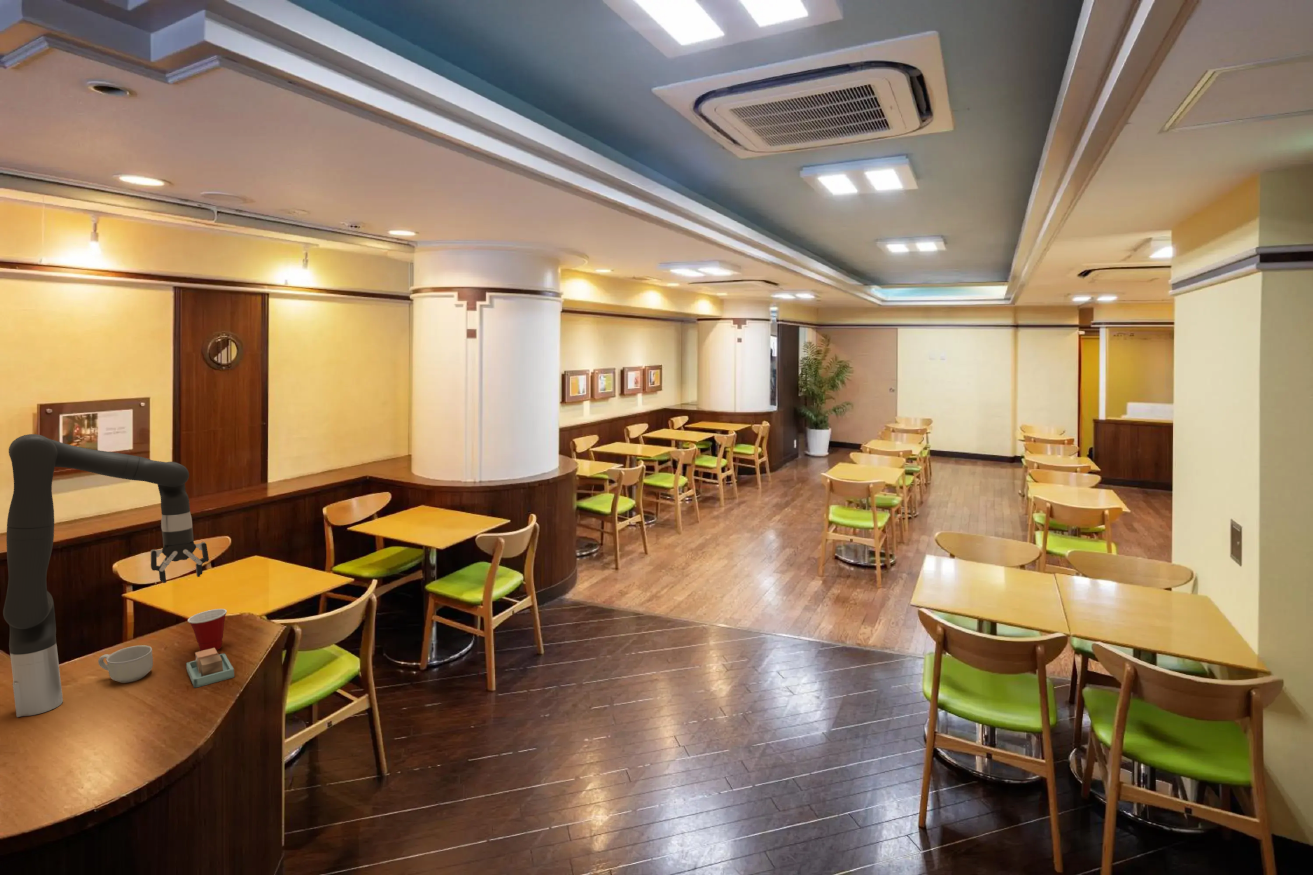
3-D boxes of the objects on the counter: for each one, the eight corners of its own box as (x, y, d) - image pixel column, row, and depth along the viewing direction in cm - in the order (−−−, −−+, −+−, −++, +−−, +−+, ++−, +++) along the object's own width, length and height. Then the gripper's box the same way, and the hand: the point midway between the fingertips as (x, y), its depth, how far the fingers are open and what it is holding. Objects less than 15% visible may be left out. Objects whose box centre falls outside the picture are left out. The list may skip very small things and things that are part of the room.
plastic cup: (195, 645, 221) (192, 610, 220) (232, 640, 225) (230, 606, 224) (186, 658, 211) (183, 622, 210) (225, 652, 215) (223, 617, 214)
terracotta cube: (196, 667, 203) (195, 652, 203) (216, 662, 206) (214, 647, 206) (199, 673, 199) (197, 657, 199) (218, 668, 203) (217, 652, 202)
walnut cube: (203, 681, 194) (202, 665, 194) (201, 675, 198) (199, 659, 198) (223, 676, 198) (222, 660, 197) (220, 670, 201) (219, 654, 201)
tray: (194, 687, 192) (193, 679, 191) (186, 670, 203) (186, 662, 202) (234, 676, 198) (233, 669, 198) (225, 660, 209) (224, 653, 209)
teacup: (163, 670, 203) (161, 645, 202) (132, 687, 192) (129, 661, 191) (122, 668, 204) (119, 643, 203) (88, 685, 194) (86, 659, 193)
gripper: (149, 534, 193) (154, 587, 195) (207, 525, 202) (211, 577, 204) (146, 529, 198) (151, 581, 200) (203, 521, 208) (207, 571, 210)
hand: (181, 579), depth 202 cm, fingers open, 8 cm apart
